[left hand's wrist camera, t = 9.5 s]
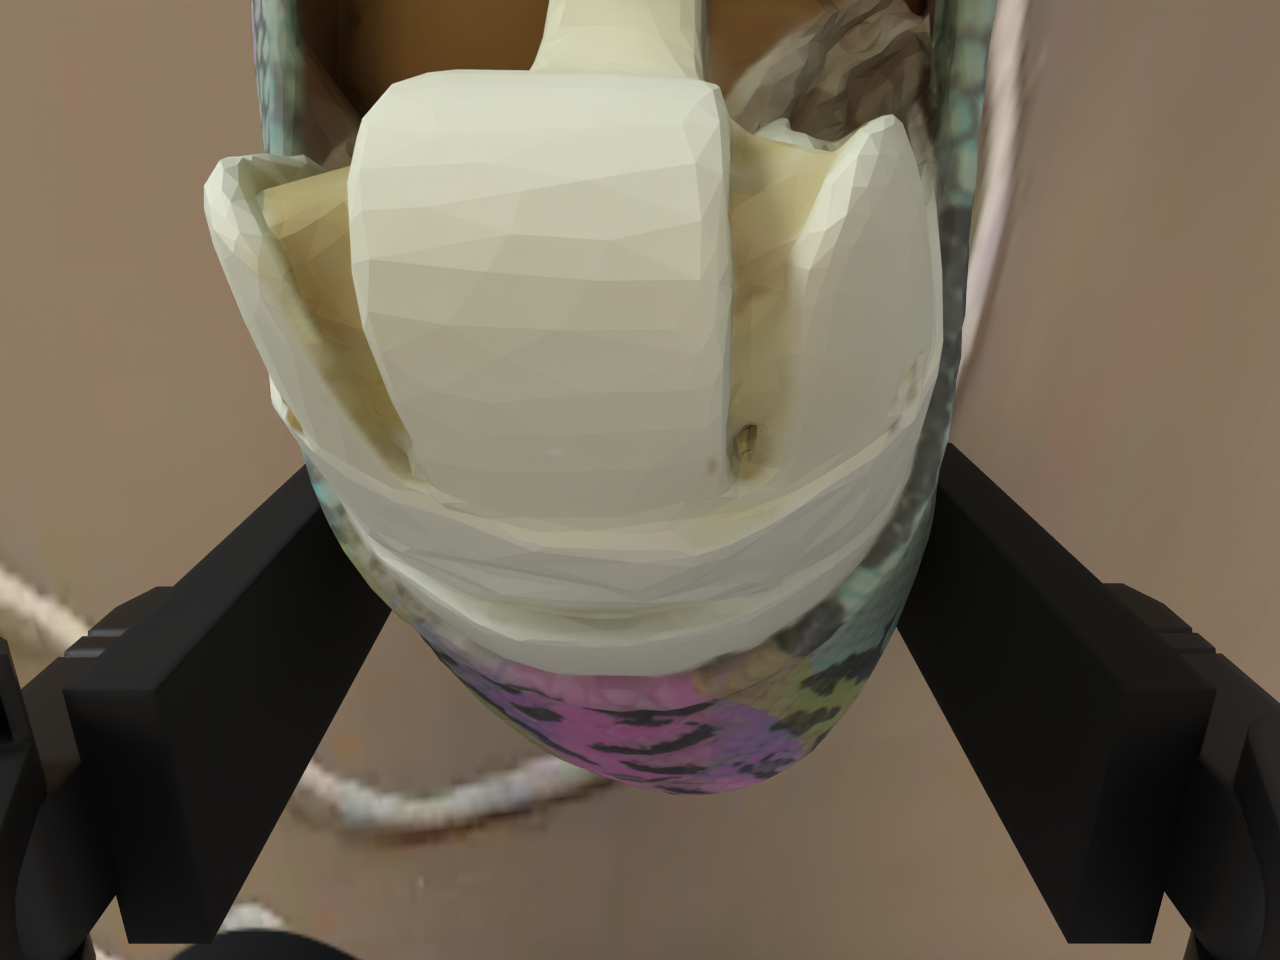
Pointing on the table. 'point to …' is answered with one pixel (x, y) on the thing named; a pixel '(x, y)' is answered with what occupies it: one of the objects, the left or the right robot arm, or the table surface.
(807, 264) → the multicolour fabric shoe
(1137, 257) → the table surface
